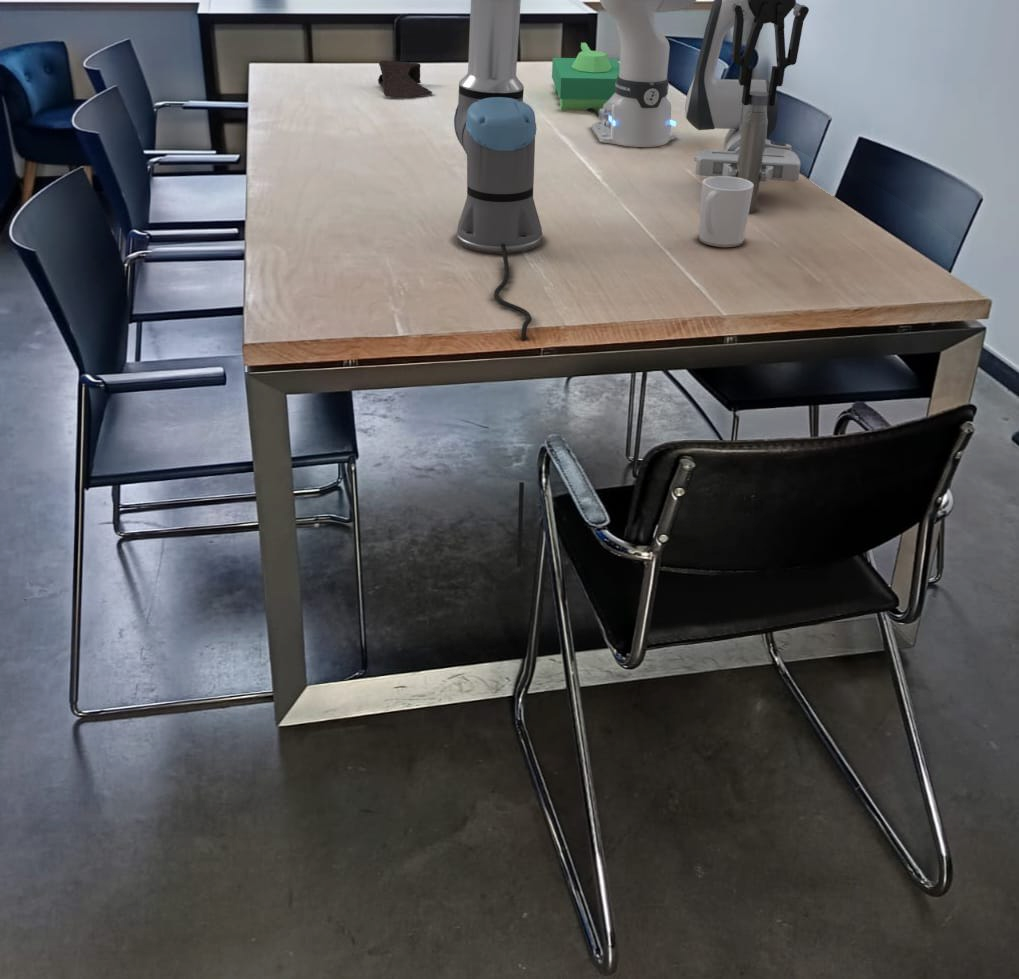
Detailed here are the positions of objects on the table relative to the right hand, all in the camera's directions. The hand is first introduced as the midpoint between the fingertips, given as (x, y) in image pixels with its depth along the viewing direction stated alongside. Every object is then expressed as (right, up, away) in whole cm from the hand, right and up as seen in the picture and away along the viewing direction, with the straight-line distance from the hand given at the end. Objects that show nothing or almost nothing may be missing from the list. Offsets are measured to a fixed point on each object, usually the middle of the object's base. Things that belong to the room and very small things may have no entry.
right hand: (748, 176), depth 210 cm
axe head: (-75, +49, +90) cm, 127 cm away
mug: (-8, -16, -13) cm, 22 cm away
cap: (0, +13, -7) cm, 15 cm away
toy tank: (-25, +46, +87) cm, 101 cm away
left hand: (0, +12, -6) cm, 13 cm away
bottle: (0, -5, +4) cm, 7 cm away
